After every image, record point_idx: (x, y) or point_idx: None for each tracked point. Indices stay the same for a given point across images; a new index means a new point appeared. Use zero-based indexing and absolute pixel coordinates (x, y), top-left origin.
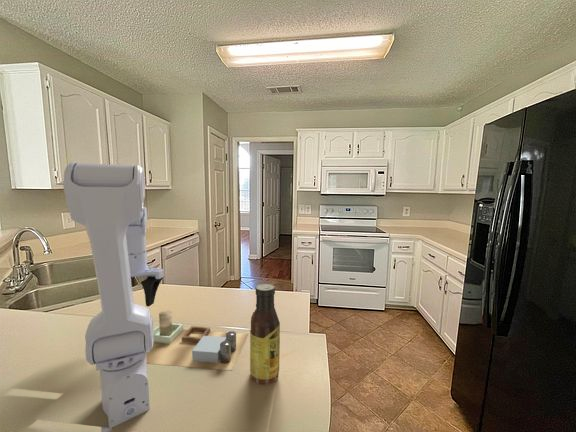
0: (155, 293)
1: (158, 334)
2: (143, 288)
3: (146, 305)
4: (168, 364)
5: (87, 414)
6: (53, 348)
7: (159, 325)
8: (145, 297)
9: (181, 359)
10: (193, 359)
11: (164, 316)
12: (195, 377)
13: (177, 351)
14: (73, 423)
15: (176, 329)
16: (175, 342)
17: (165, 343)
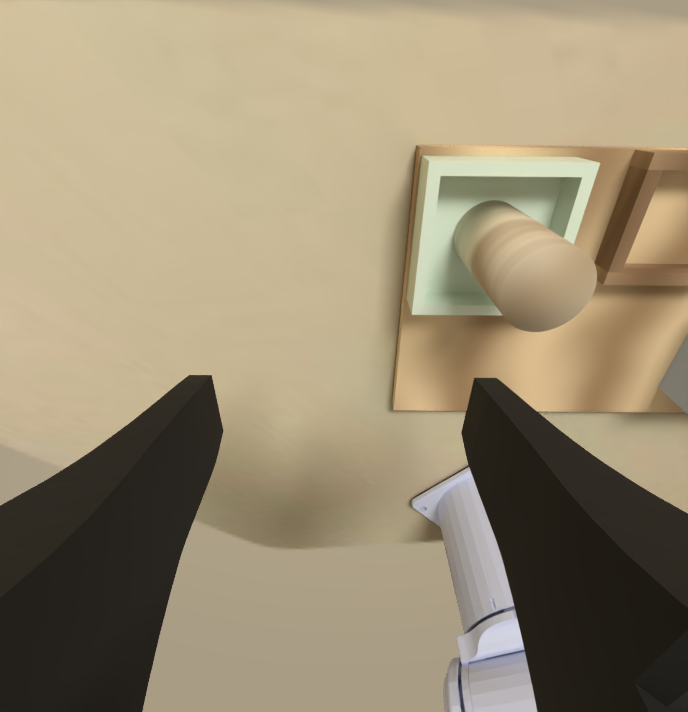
0: (557, 437)
1: (441, 239)
2: (526, 652)
3: (465, 441)
4: (565, 408)
5: (413, 524)
6: (4, 349)
7: (476, 280)
8: (493, 522)
9: (610, 383)
10: (666, 391)
11: (550, 327)
12: (662, 426)
13: (584, 344)
14: (401, 538)
15: (567, 238)
16: None
17: None
